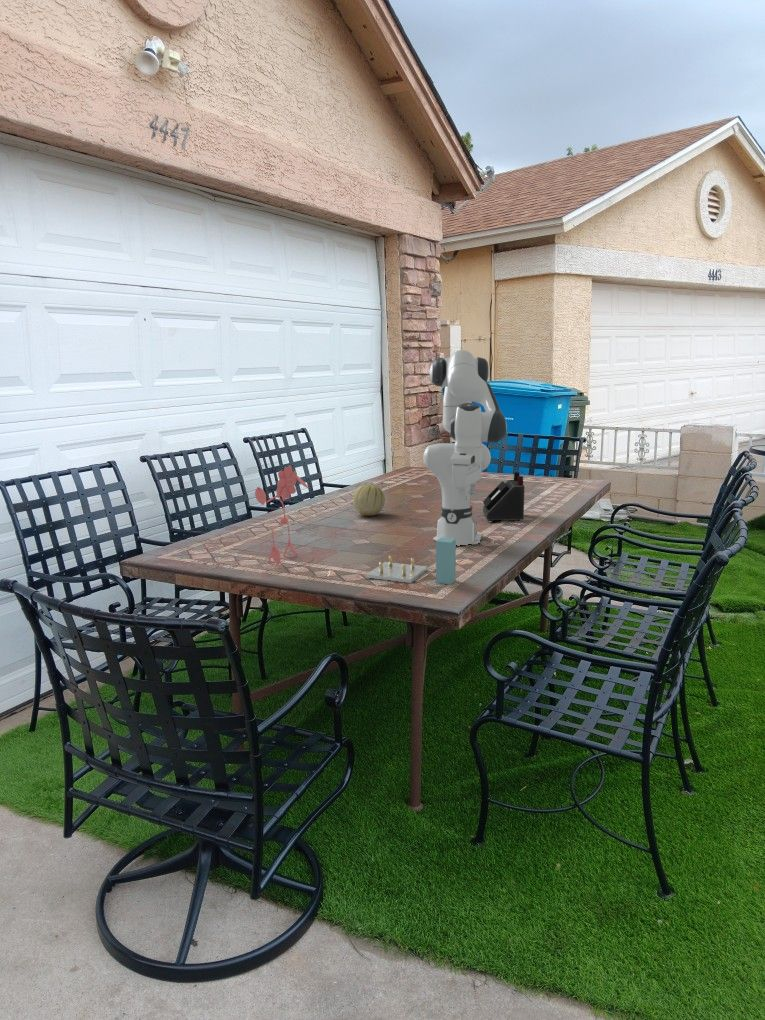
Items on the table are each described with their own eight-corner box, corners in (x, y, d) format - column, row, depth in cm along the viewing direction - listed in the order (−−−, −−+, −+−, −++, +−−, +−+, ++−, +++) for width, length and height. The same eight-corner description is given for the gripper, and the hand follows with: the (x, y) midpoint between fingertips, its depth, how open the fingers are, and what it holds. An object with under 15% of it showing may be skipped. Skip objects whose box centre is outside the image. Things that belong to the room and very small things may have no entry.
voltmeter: (482, 514, 335) (482, 471, 330) (518, 514, 334) (519, 471, 330) (485, 523, 319) (486, 477, 315) (523, 522, 318) (524, 477, 314)
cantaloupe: (350, 518, 331) (349, 486, 328) (356, 511, 345) (355, 480, 342) (382, 519, 329) (382, 486, 325) (387, 512, 343) (387, 480, 340)
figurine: (251, 567, 258) (248, 469, 250) (294, 550, 280) (292, 459, 272) (286, 574, 251) (284, 473, 243) (328, 555, 273) (327, 463, 265)
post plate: (384, 565, 258) (384, 552, 257) (427, 569, 252) (427, 556, 251) (366, 578, 244) (365, 564, 243) (410, 583, 238) (410, 569, 237)
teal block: (441, 578, 243) (441, 537, 240) (455, 579, 241) (455, 538, 238) (436, 582, 238) (436, 541, 235) (450, 584, 236) (450, 542, 233)
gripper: (468, 450, 242) (467, 491, 245) (448, 459, 224) (448, 503, 227) (486, 451, 240) (485, 493, 243) (468, 460, 222) (467, 504, 224)
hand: (467, 498), depth 235 cm, fingers open, 8 cm apart
